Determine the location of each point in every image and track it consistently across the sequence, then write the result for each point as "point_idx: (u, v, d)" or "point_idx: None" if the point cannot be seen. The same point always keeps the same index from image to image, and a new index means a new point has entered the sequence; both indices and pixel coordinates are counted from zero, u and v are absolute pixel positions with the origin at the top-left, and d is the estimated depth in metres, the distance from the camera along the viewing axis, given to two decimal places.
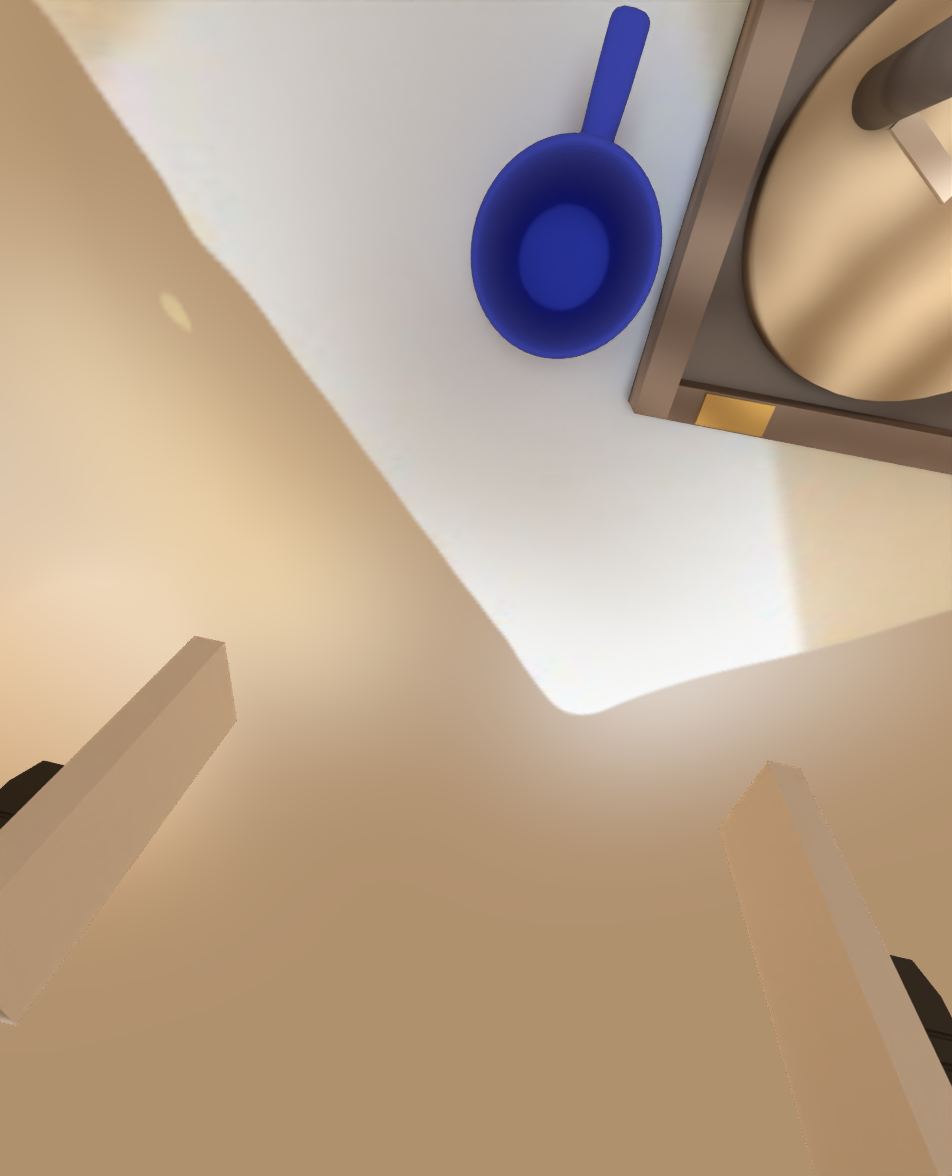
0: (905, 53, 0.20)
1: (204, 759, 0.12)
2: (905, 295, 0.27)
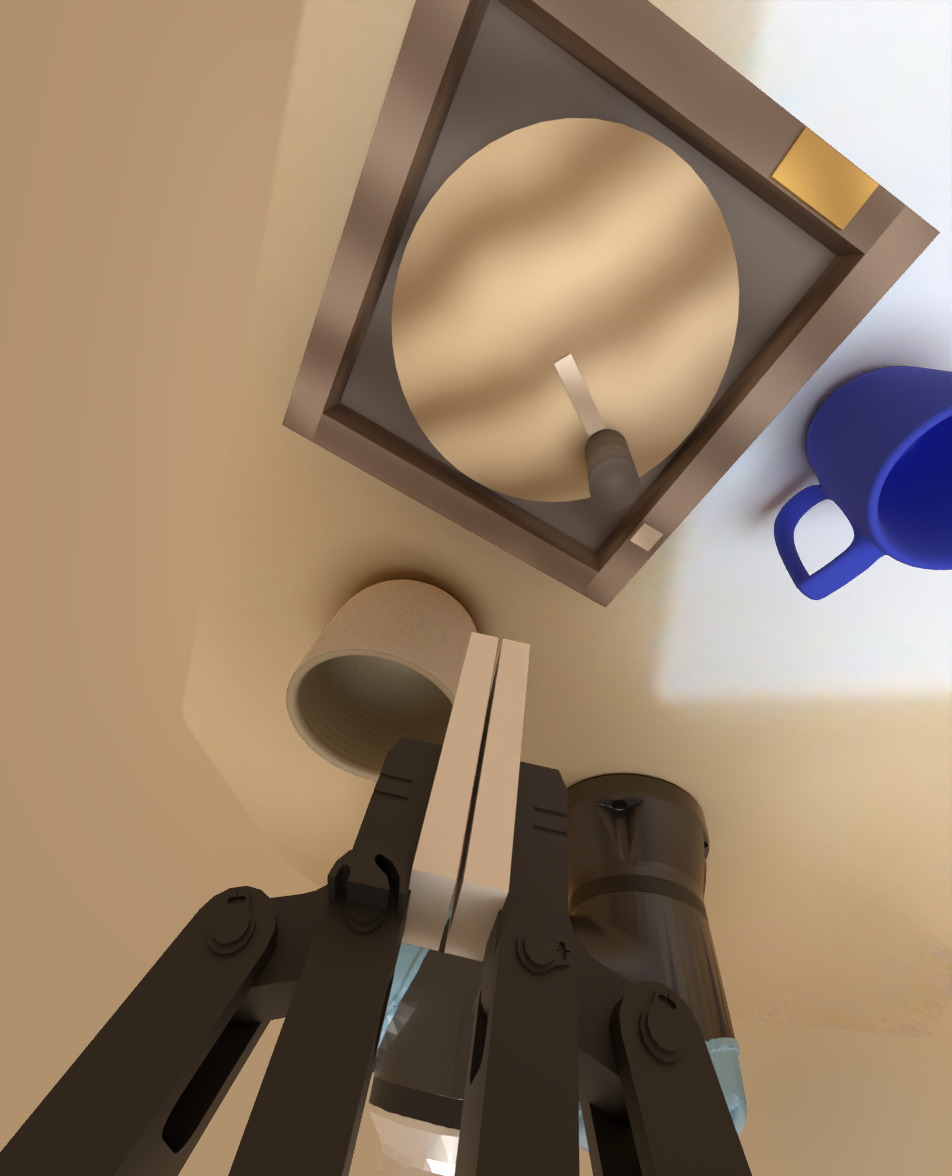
0: None
1: None
2: (604, 273, 0.25)
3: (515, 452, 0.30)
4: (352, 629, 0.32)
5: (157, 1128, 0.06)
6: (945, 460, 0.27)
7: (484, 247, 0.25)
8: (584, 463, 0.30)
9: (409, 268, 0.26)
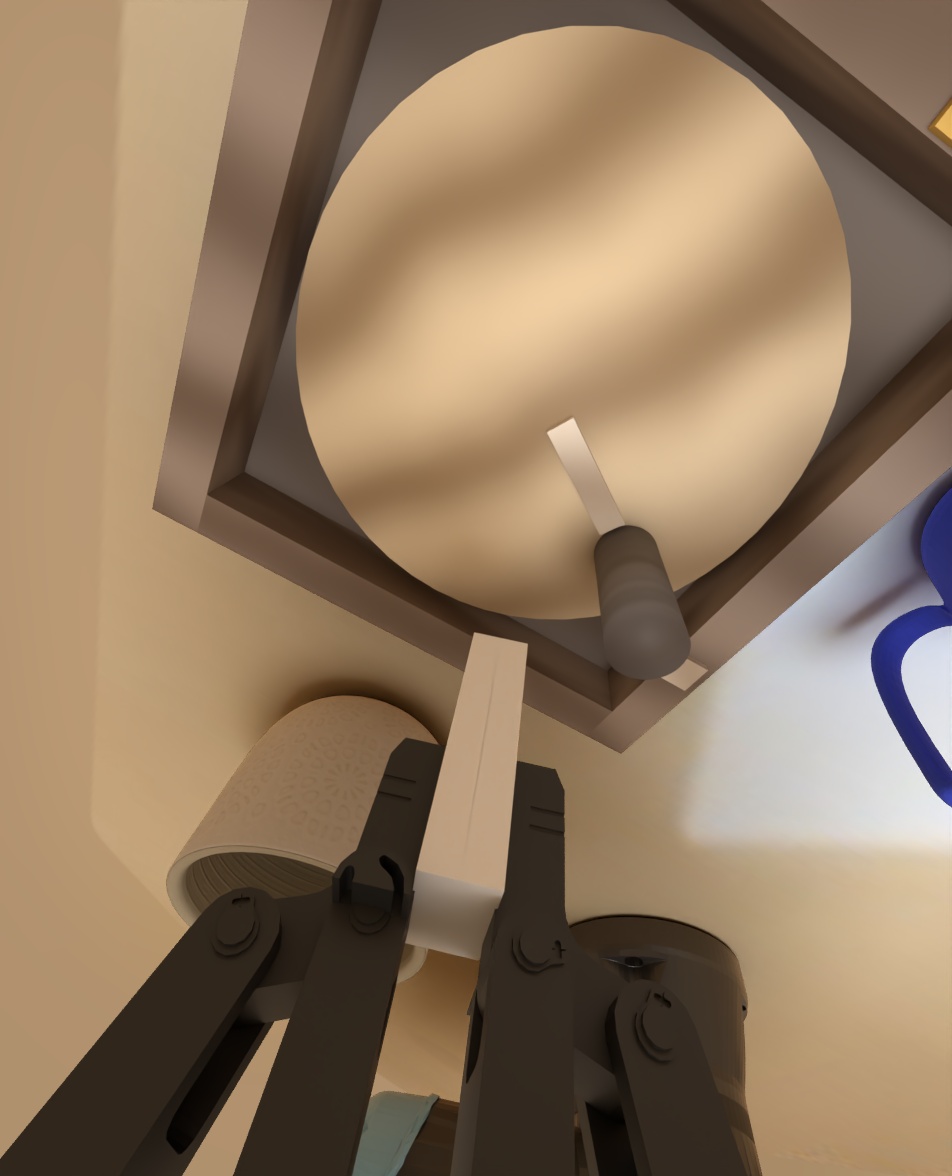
0: None
1: None
2: (627, 294, 0.15)
3: (490, 553, 0.21)
4: (256, 802, 0.22)
5: (162, 1129, 0.06)
6: None
7: (433, 252, 0.16)
8: (593, 570, 0.20)
9: (317, 285, 0.17)
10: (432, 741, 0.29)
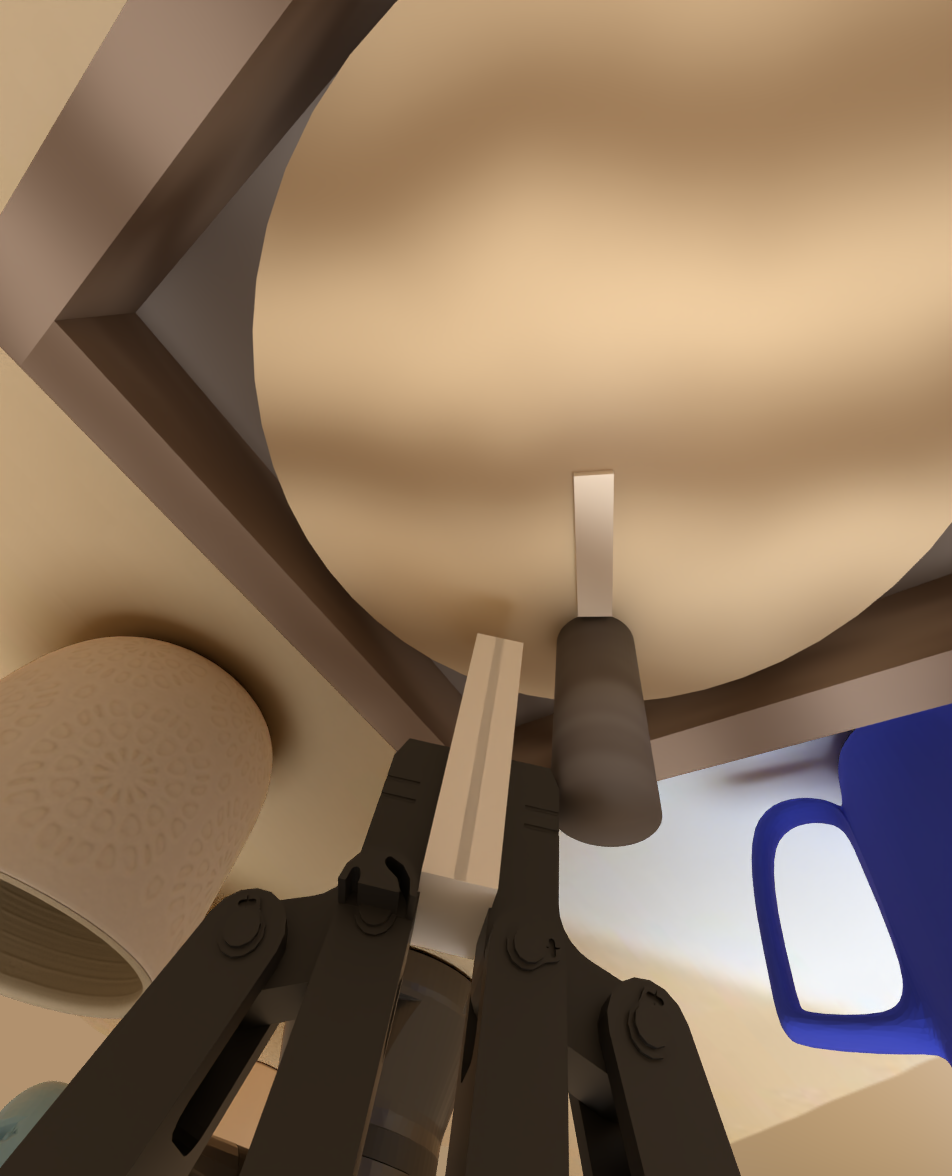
0: None
1: None
2: (752, 354, 0.11)
3: (439, 584, 0.16)
4: None
5: (167, 1130, 0.06)
6: None
7: (534, 161, 0.10)
8: (550, 648, 0.17)
9: (342, 118, 0.10)
10: (264, 736, 0.23)
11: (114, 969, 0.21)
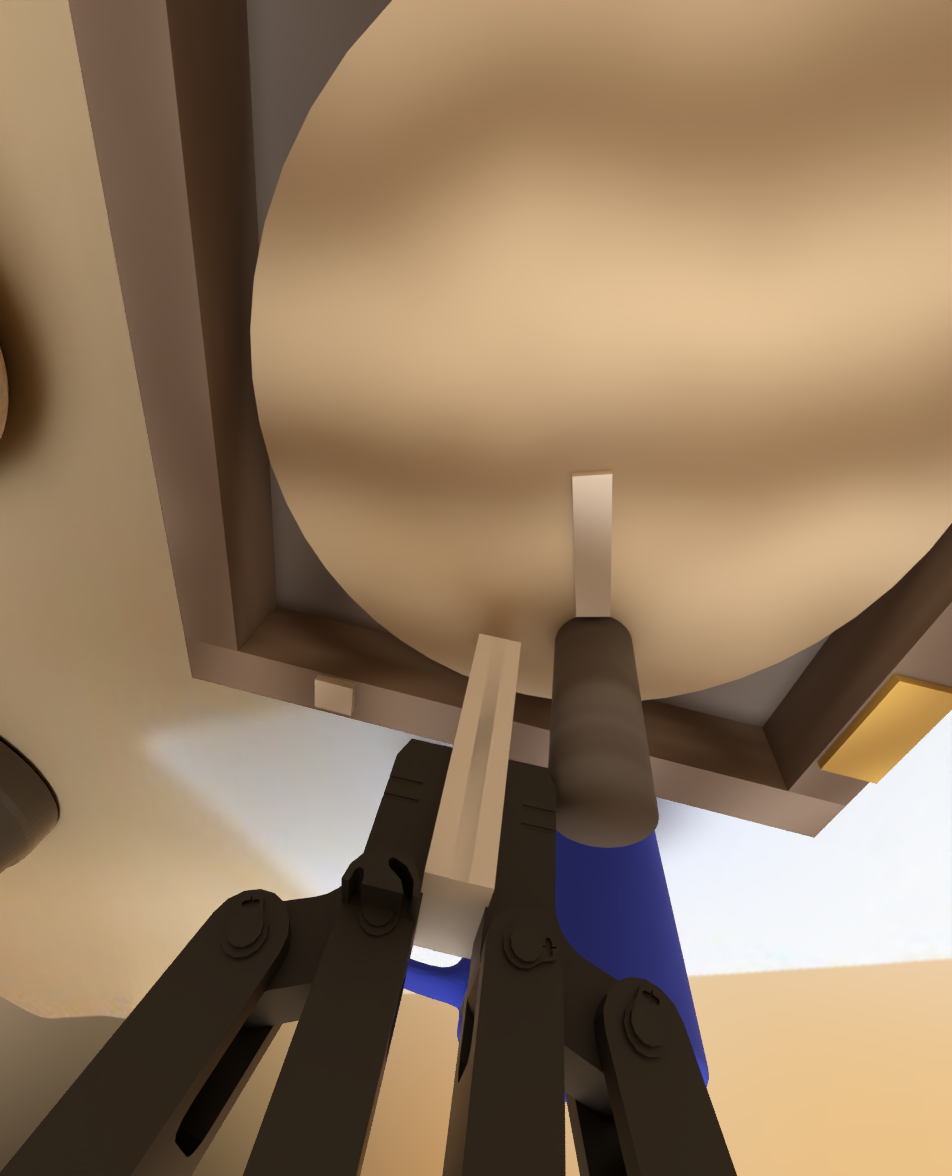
0: None
1: None
2: (751, 354, 0.11)
3: (437, 583, 0.16)
4: None
5: (171, 1132, 0.06)
6: None
7: (533, 160, 0.10)
8: (548, 648, 0.16)
9: (340, 115, 0.10)
10: None
11: None
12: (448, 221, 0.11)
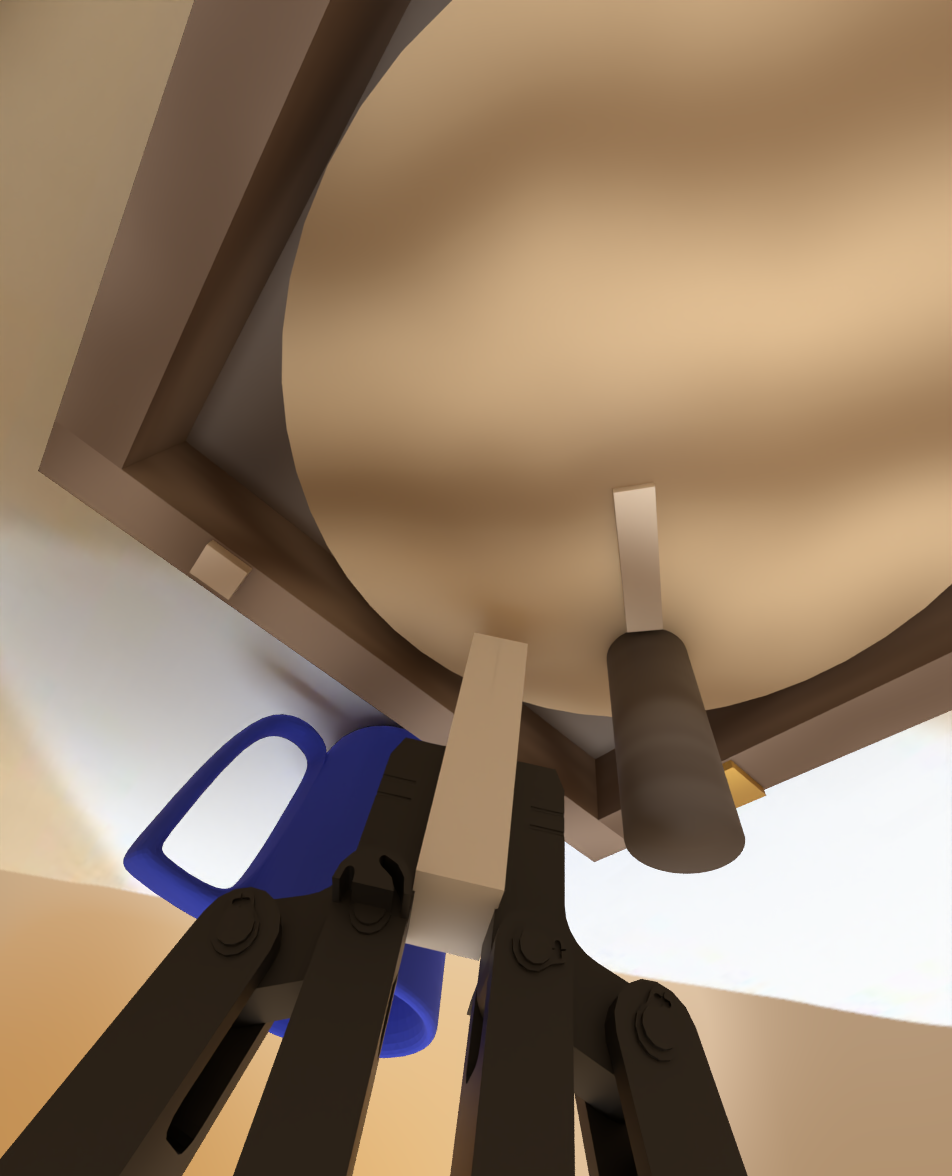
0: None
1: None
2: (791, 352, 0.11)
3: (482, 610, 0.16)
4: None
5: (162, 1129, 0.06)
6: None
7: (551, 187, 0.10)
8: (600, 666, 0.16)
9: (357, 168, 0.10)
10: None
11: None
12: (470, 256, 0.11)
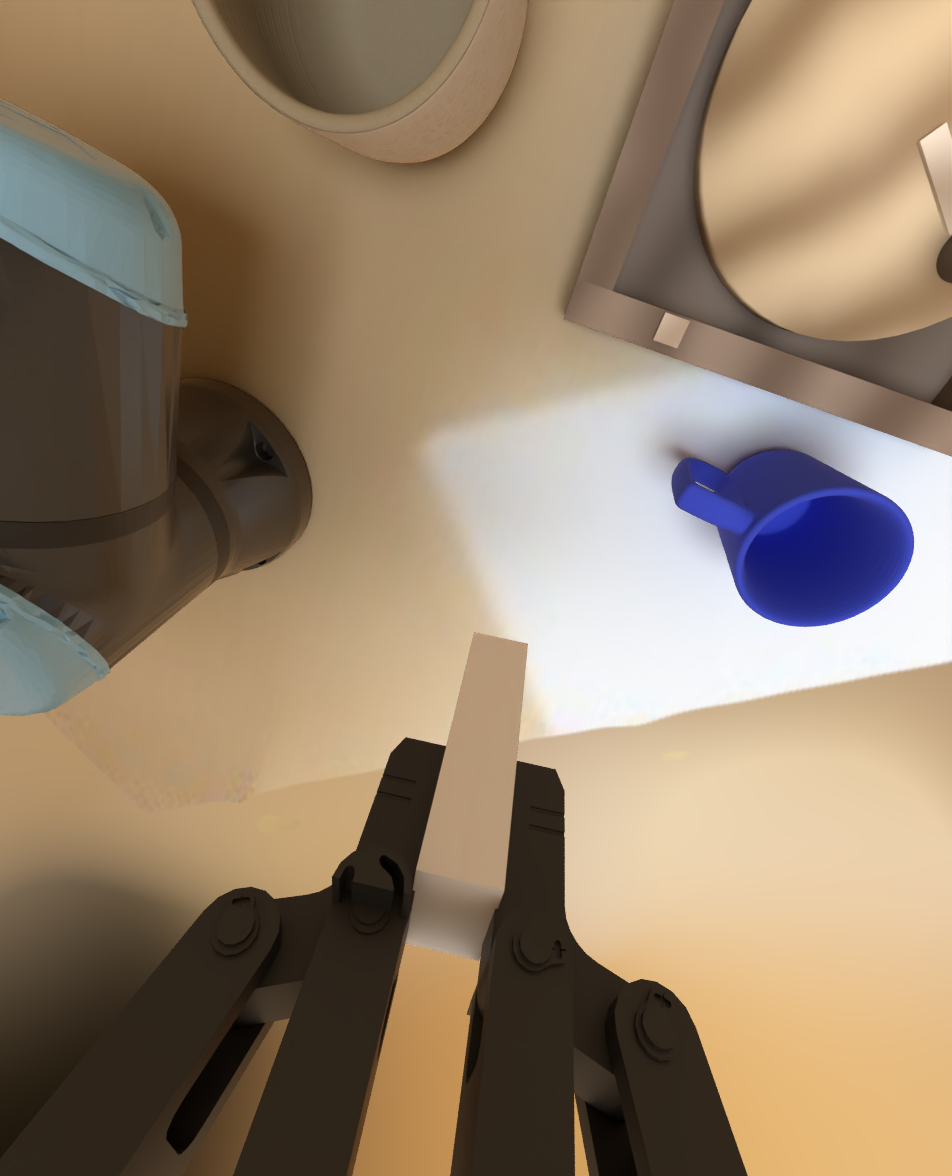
0: None
1: None
2: None
3: (840, 278, 0.26)
4: None
5: (162, 1129, 0.06)
6: (763, 554, 0.33)
7: None
8: (932, 278, 0.25)
9: (743, 46, 0.22)
10: None
11: (288, 95, 0.21)
12: (808, 55, 0.22)
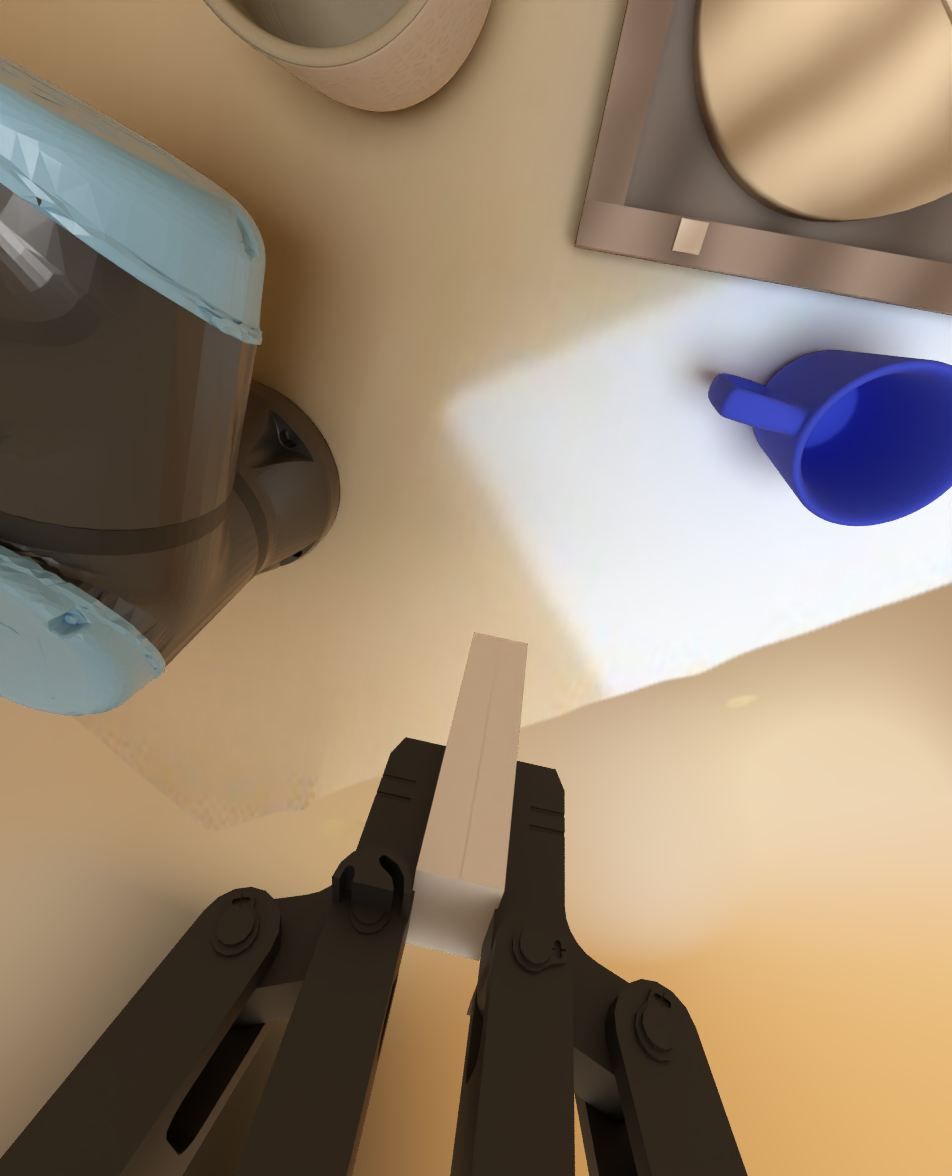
0: None
1: None
2: None
3: (865, 148, 0.24)
4: None
5: (162, 1129, 0.06)
6: (814, 464, 0.32)
7: None
8: None
9: None
10: None
11: None
12: None
